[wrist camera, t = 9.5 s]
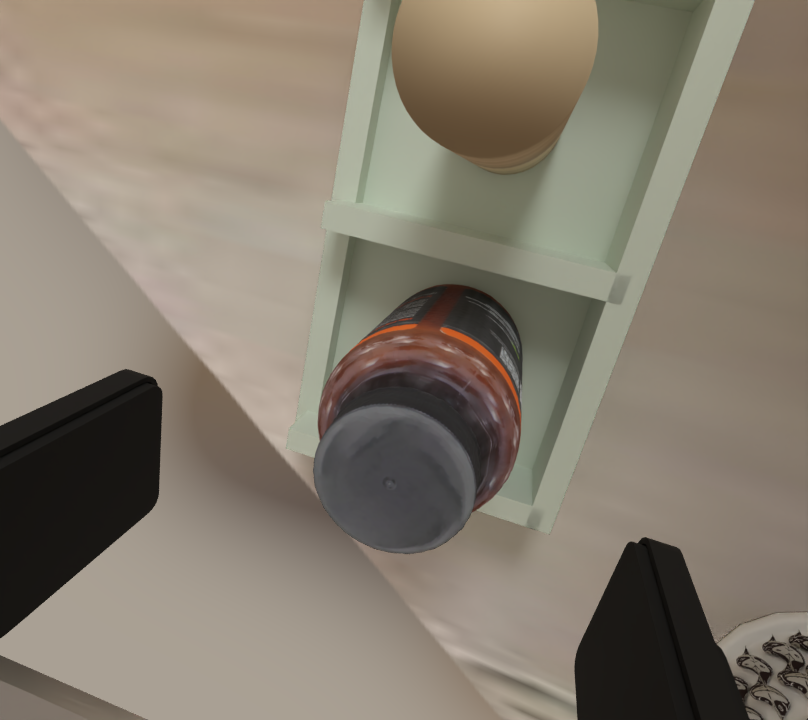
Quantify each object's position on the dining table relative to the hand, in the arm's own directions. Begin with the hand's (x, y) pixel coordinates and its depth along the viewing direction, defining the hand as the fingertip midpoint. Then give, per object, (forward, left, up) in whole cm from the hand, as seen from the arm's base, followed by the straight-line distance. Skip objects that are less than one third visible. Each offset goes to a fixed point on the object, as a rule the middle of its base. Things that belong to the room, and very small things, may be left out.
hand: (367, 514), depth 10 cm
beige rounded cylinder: (-9, 0, -13) cm, 16 cm away
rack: (-4, 0, -14) cm, 15 cm away
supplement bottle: (+1, 0, -14) cm, 14 cm away
